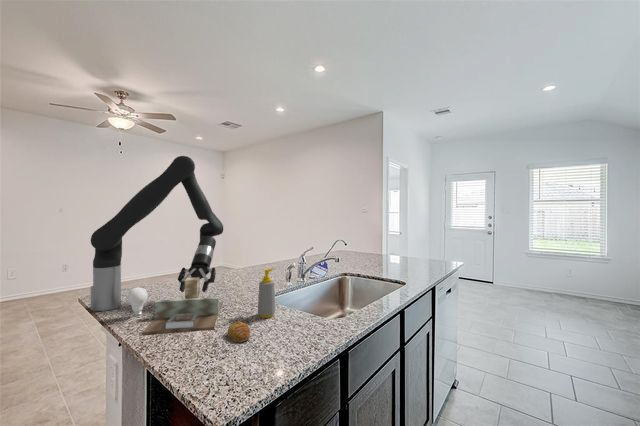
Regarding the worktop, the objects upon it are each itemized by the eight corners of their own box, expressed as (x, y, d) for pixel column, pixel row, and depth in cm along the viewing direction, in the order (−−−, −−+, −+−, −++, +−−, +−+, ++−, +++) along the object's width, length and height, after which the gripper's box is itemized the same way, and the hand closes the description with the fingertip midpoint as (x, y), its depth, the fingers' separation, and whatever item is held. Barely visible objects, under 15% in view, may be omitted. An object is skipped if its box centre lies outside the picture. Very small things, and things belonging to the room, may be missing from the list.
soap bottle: (279, 315, 111) (279, 269, 111) (264, 320, 106) (264, 272, 106) (268, 310, 116) (268, 266, 116) (253, 315, 111) (254, 269, 111)
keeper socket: (165, 329, 95) (165, 323, 95) (173, 319, 103) (173, 314, 103) (193, 327, 97) (193, 321, 97) (198, 318, 105) (198, 312, 105)
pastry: (255, 340, 91) (255, 328, 91) (234, 346, 87) (234, 333, 87) (245, 329, 98) (245, 318, 98) (225, 334, 95) (225, 323, 95)
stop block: (184, 311, 112) (184, 280, 112) (187, 307, 117) (187, 277, 116) (197, 310, 113) (197, 280, 113) (199, 306, 118) (199, 277, 117)
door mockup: (142, 335, 93) (142, 313, 93) (167, 307, 118) (167, 291, 118) (213, 329, 98) (213, 309, 98) (223, 304, 123) (223, 288, 123)
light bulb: (151, 315, 111) (151, 286, 110) (134, 321, 105) (134, 291, 104) (140, 312, 113) (140, 284, 113) (123, 318, 107) (122, 288, 107)
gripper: (183, 252, 123) (171, 286, 112) (217, 252, 124) (208, 286, 112) (189, 262, 129) (177, 296, 117) (221, 262, 129) (212, 295, 118)
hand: (192, 291), depth 115 cm, fingers open, 8 cm apart
